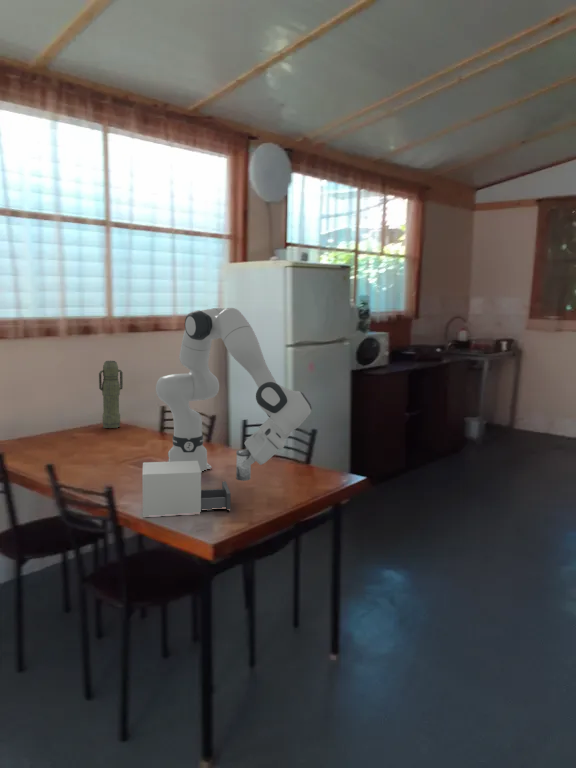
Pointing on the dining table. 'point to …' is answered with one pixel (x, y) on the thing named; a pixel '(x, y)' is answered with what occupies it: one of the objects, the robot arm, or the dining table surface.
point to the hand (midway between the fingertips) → (241, 464)
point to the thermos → (111, 394)
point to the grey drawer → (216, 497)
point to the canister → (241, 472)
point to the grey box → (171, 487)
